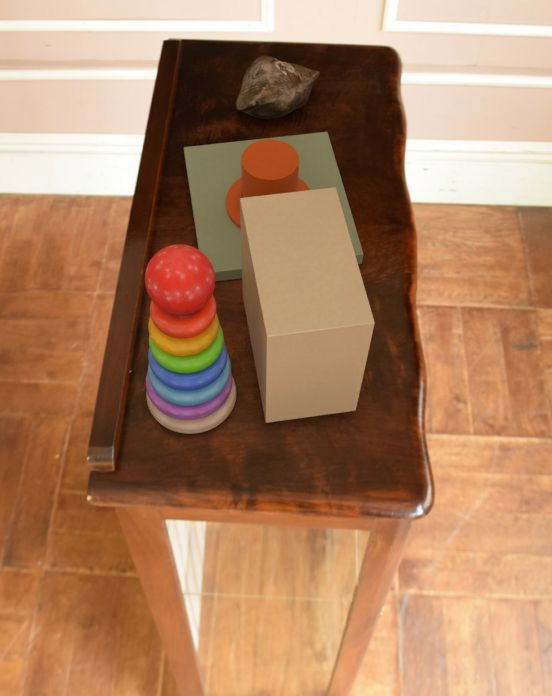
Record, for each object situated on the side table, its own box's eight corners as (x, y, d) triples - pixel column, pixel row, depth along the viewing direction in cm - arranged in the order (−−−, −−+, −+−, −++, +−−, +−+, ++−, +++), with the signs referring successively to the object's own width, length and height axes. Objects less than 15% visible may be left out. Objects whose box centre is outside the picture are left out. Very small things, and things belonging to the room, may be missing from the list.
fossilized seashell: (251, 125, 85) (331, 114, 88) (246, 59, 82) (329, 50, 85) (225, 119, 91) (301, 109, 94) (220, 58, 88) (298, 50, 92)
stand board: (326, 141, 87) (327, 131, 86) (362, 263, 78) (363, 254, 76) (184, 157, 86) (183, 146, 85) (203, 283, 76) (202, 273, 75)
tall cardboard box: (326, 292, 76) (338, 186, 64) (357, 416, 68) (378, 322, 57) (242, 302, 75) (239, 197, 63) (265, 428, 68) (266, 336, 56)
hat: (304, 169, 83) (307, 122, 77) (320, 231, 78) (325, 186, 73) (220, 178, 82) (218, 132, 77) (232, 242, 77) (230, 197, 72)
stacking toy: (228, 443, 67) (219, 313, 51) (138, 431, 68) (101, 298, 52) (243, 367, 71) (239, 225, 55) (158, 356, 72) (130, 212, 56)
